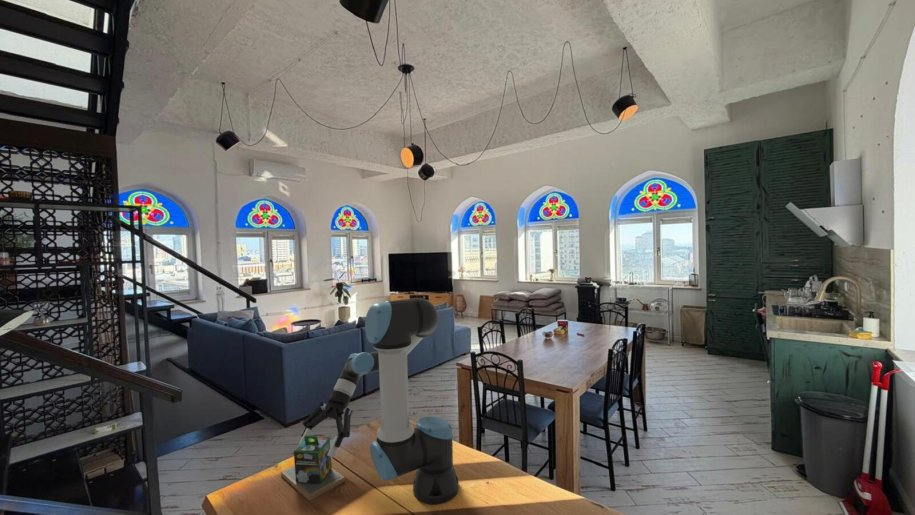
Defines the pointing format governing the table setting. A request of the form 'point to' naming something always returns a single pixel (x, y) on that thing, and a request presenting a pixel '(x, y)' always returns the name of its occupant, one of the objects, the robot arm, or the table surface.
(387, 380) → the robot arm
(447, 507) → the table surface
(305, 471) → the chalk box
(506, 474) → the table surface
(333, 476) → the slate board
